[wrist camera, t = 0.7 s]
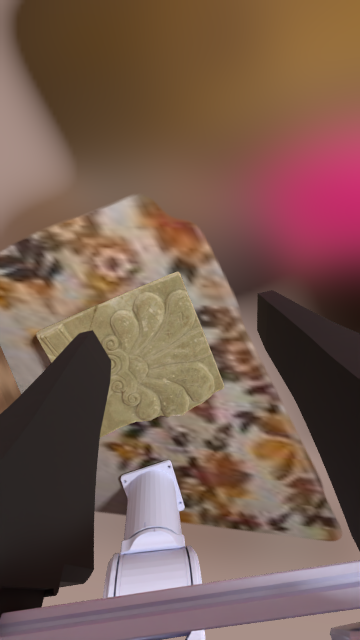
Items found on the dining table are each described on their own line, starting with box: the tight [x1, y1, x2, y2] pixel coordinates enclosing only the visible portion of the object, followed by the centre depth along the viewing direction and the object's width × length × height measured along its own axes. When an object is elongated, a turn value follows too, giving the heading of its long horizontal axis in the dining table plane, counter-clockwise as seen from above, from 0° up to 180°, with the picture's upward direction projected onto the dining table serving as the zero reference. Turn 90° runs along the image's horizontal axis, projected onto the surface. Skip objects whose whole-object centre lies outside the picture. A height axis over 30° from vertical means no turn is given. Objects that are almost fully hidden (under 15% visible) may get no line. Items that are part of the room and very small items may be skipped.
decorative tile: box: [36, 272, 224, 437], centre depth 31 cm, size 19×20×4 cm
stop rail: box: [0, 346, 21, 414], centre depth 29 cm, size 22×2×3 cm, turn 14°
